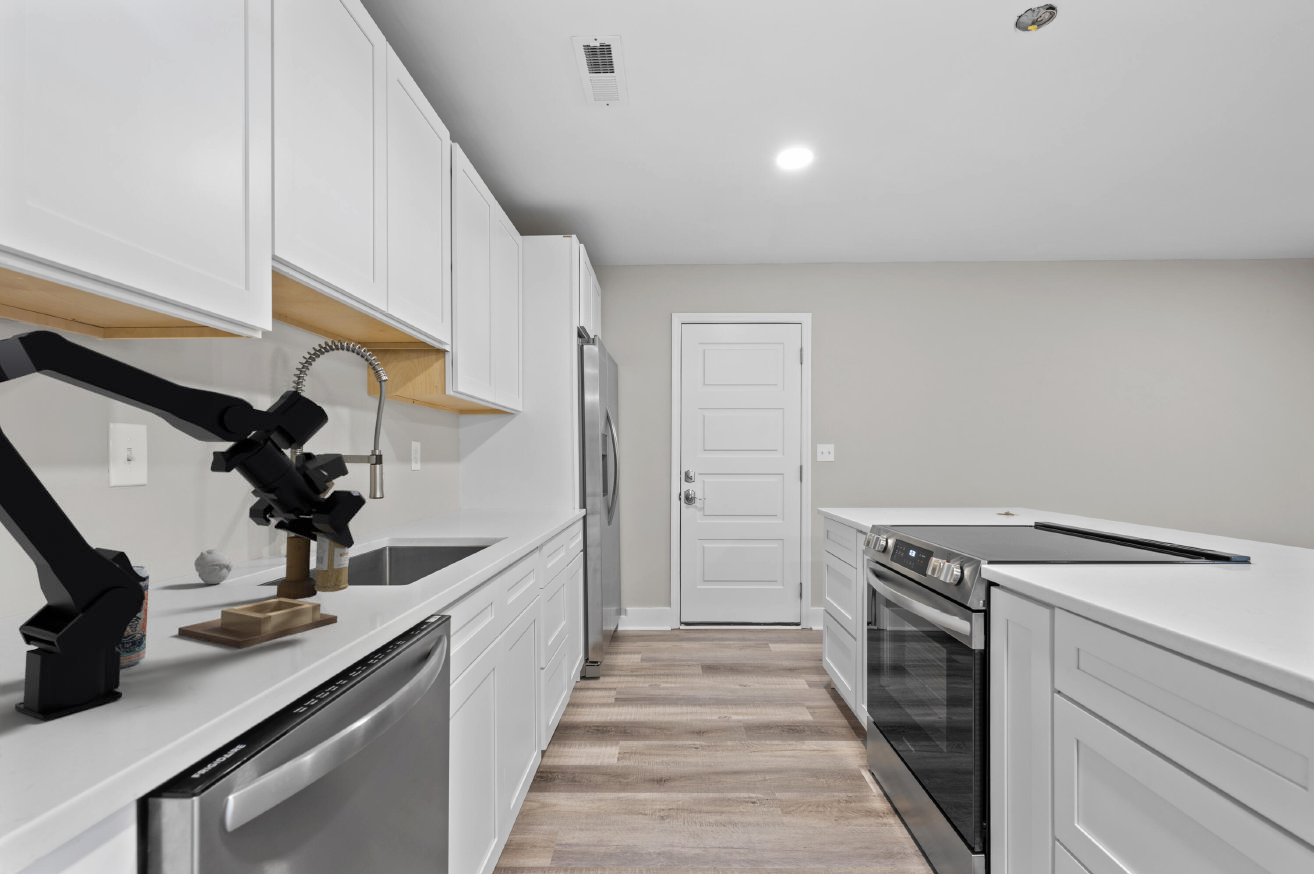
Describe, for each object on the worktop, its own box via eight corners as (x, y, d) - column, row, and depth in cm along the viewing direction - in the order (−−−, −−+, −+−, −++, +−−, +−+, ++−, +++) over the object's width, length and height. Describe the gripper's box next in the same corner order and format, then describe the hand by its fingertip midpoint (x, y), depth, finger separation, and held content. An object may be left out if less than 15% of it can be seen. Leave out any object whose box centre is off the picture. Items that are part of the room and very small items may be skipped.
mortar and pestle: (270, 599, 111) (274, 501, 111) (283, 592, 117) (287, 499, 118) (310, 598, 112) (314, 501, 113) (321, 590, 119) (324, 499, 119)
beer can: (109, 673, 73) (114, 573, 74) (85, 667, 75) (90, 570, 75) (154, 660, 78) (158, 567, 78) (130, 656, 79) (134, 564, 80)
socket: (240, 648, 83) (241, 622, 83) (178, 634, 89) (179, 610, 89) (337, 622, 97) (337, 600, 97) (277, 611, 103) (278, 590, 103)
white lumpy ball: (215, 579, 127) (216, 546, 128) (240, 582, 125) (241, 548, 126) (185, 585, 122) (186, 550, 122) (211, 588, 120) (212, 552, 120)
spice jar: (349, 590, 91) (353, 500, 91) (315, 593, 88) (318, 501, 89) (346, 585, 94) (349, 498, 95) (312, 588, 92) (316, 499, 92)
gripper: (356, 433, 85) (416, 508, 94) (273, 434, 93) (335, 502, 102) (300, 491, 77) (370, 566, 87) (214, 486, 85) (287, 555, 95)
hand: (341, 544), depth 93 cm, fingers closed on spice jar, 4 cm apart
